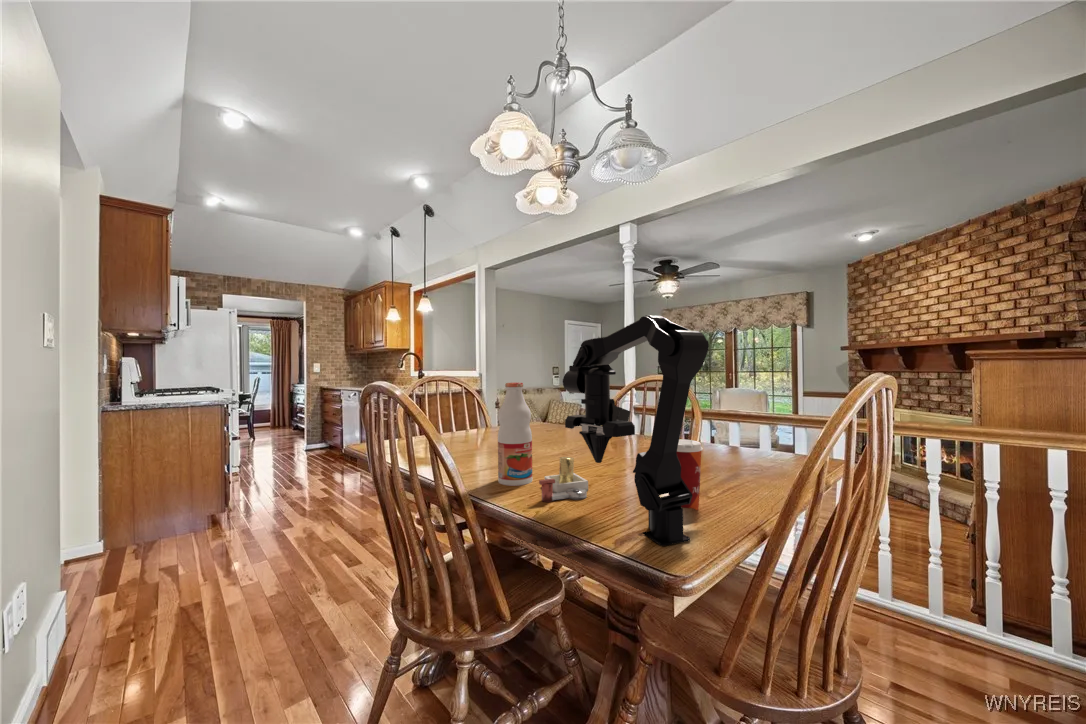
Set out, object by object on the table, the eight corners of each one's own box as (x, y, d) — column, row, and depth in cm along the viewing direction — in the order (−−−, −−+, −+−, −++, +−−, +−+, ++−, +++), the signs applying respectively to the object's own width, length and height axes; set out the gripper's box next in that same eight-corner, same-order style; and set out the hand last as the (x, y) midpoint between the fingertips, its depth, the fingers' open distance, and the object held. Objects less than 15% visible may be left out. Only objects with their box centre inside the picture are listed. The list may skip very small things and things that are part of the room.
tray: (588, 490, 107) (588, 481, 107) (557, 495, 104) (556, 484, 104) (574, 482, 115) (574, 472, 115) (544, 485, 112) (544, 476, 112)
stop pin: (575, 486, 109) (576, 458, 110) (566, 488, 107) (567, 459, 107) (565, 483, 112) (566, 456, 112) (556, 485, 109) (556, 457, 110)
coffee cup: (709, 514, 92) (708, 445, 92) (671, 514, 93) (670, 445, 93) (696, 501, 101) (695, 438, 101) (661, 502, 101) (660, 438, 101)
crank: (580, 492, 106) (580, 472, 106) (590, 498, 101) (590, 477, 101) (536, 498, 101) (536, 478, 101) (544, 504, 97) (543, 483, 97)
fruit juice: (517, 478, 124) (516, 381, 124) (539, 484, 117) (538, 382, 117) (491, 484, 117) (490, 383, 117) (512, 491, 110) (511, 383, 110)
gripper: (652, 394, 94) (653, 465, 94) (598, 391, 110) (599, 451, 110) (614, 397, 89) (615, 472, 88) (563, 393, 104) (564, 457, 104)
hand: (598, 462), depth 98 cm, fingers closed
